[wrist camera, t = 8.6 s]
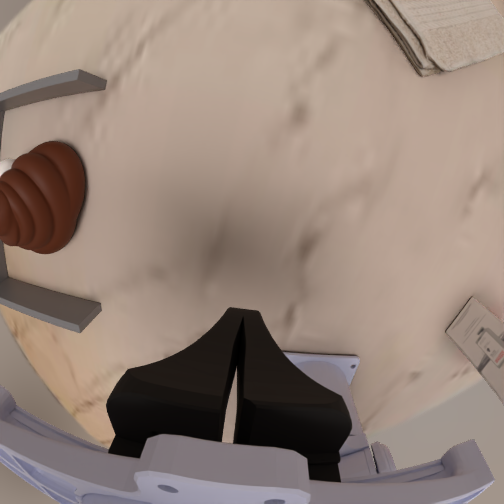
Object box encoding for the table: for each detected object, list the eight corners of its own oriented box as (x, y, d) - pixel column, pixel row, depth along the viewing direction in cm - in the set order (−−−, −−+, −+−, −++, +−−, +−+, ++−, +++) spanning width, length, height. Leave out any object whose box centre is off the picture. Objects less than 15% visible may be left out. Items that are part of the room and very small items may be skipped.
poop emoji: (72, 265, 22) (5, 312, 13) (17, 223, 21) (-49, 251, 12) (105, 161, 19) (21, 169, 10) (42, 128, 18) (-36, 128, 9)
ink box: (498, 324, 23) (554, 380, 11) (474, 356, 24) (523, 419, 13) (471, 293, 21) (544, 358, 10) (442, 332, 23) (504, 409, 12)
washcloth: (335, -21, 14) (343, -39, 11) (450, -35, 10) (462, -46, 7) (419, 88, 17) (439, 80, 14) (510, 49, 13) (527, 44, 10)
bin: (101, 310, 23) (80, 333, 19) (5, 282, 23) (-16, 296, 19) (106, 80, 17) (79, 69, 13) (1, 105, 17) (-24, 103, 13)
